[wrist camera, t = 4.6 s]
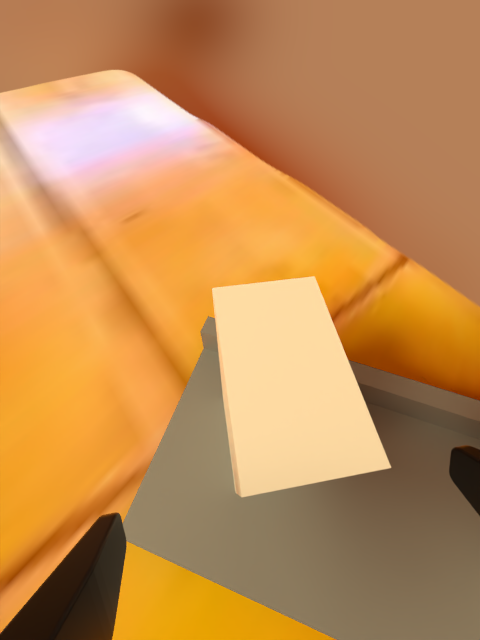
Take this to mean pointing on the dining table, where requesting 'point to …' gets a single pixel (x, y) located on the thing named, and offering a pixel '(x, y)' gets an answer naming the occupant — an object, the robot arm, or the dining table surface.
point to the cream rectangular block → (289, 389)
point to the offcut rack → (326, 516)
